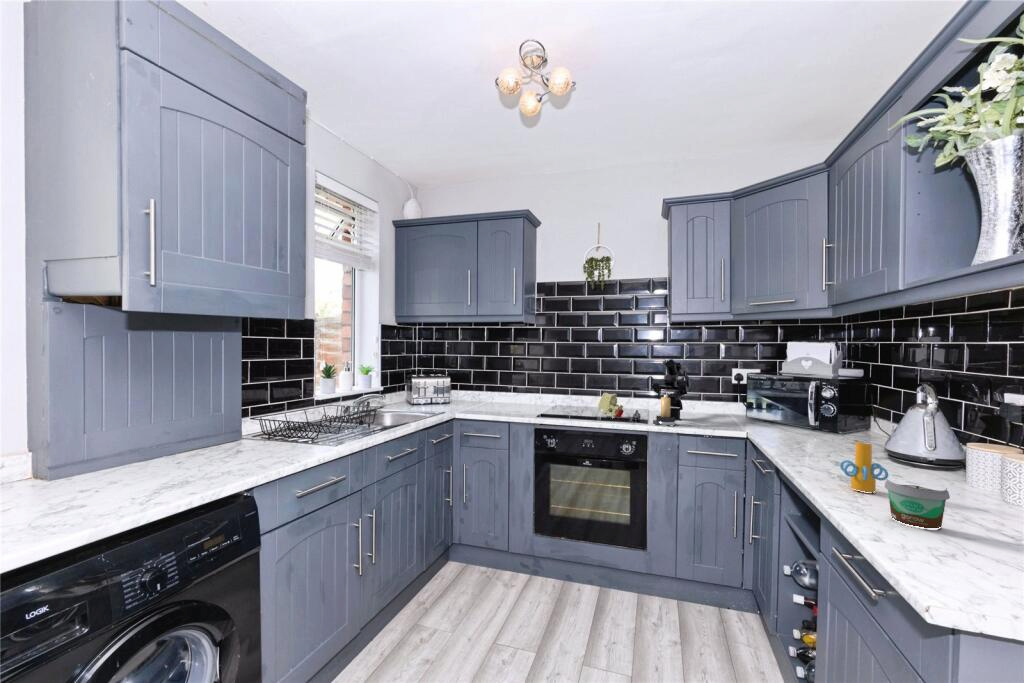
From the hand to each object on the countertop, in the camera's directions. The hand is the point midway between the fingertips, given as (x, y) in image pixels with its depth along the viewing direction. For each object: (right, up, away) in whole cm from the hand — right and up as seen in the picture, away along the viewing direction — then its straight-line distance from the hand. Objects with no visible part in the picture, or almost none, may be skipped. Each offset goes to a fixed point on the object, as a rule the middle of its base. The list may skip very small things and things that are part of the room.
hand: (667, 399), depth 249 cm
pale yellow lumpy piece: (-26, -14, +17) cm, 34 cm away
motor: (-2, -14, -3) cm, 14 cm away
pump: (-2, -12, -3) cm, 12 cm away
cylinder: (+21, -14, -113) cm, 115 cm away
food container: (+13, -14, -139) cm, 141 cm away
